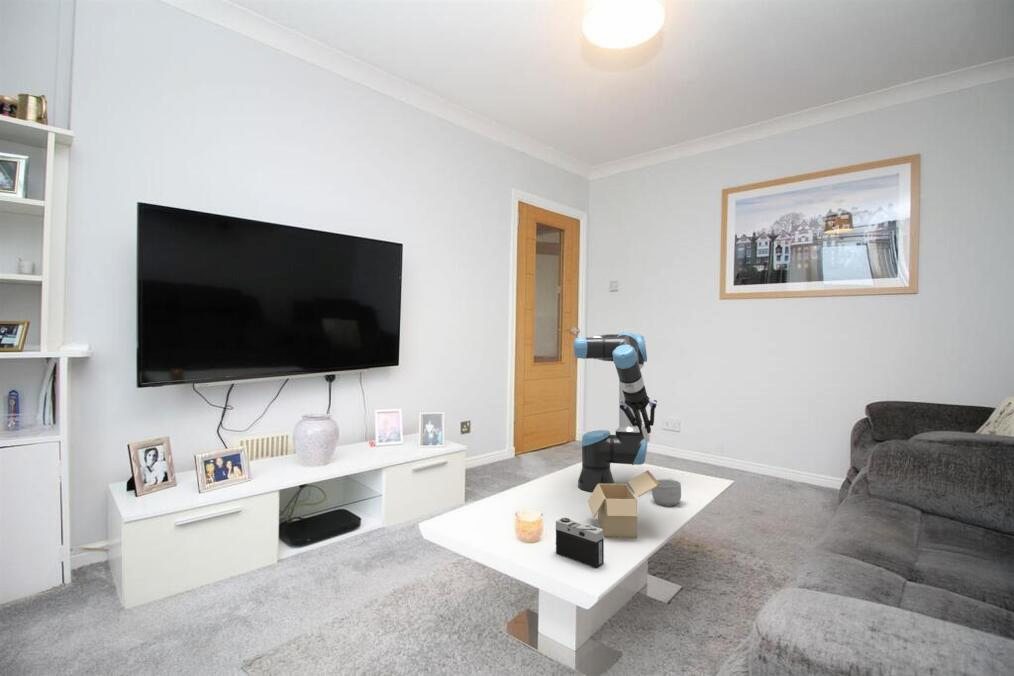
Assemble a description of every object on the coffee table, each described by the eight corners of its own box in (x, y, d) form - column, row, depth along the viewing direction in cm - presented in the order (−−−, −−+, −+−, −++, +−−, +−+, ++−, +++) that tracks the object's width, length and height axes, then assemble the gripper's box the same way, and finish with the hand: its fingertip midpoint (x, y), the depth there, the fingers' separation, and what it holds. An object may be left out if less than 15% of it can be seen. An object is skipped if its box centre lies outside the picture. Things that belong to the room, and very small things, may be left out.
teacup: (673, 510, 176) (673, 488, 176) (646, 503, 184) (646, 482, 184) (689, 500, 187) (689, 479, 187) (662, 494, 194) (662, 474, 194)
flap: (637, 496, 152) (659, 483, 152) (627, 481, 168) (647, 470, 167) (638, 497, 152) (660, 484, 152) (628, 482, 168) (648, 471, 167)
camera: (611, 559, 138) (611, 523, 138) (596, 569, 132) (595, 532, 132) (571, 544, 147) (571, 511, 147) (554, 553, 141) (554, 519, 141)
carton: (594, 540, 150) (594, 501, 150) (586, 515, 171) (586, 481, 171) (639, 541, 149) (638, 502, 149) (625, 516, 170) (625, 481, 171)
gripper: (612, 395, 165) (628, 446, 175) (651, 393, 159) (665, 446, 169) (616, 381, 171) (631, 432, 181) (654, 379, 165) (667, 431, 175)
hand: (647, 438), depth 175 cm, fingers closed
